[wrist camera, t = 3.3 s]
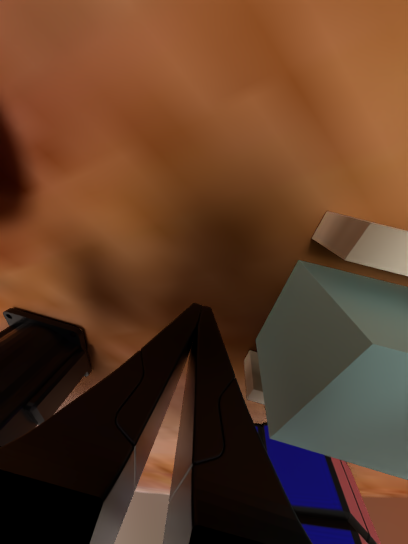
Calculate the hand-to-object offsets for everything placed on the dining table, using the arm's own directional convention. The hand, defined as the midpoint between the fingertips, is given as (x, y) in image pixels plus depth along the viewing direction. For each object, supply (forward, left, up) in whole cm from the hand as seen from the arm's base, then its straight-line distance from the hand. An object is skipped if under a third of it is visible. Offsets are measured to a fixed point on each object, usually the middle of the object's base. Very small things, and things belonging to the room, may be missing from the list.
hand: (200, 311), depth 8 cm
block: (+7, 0, -2) cm, 7 cm away
